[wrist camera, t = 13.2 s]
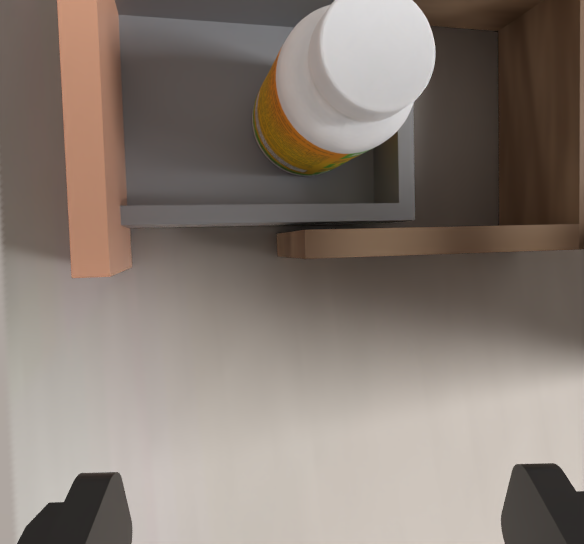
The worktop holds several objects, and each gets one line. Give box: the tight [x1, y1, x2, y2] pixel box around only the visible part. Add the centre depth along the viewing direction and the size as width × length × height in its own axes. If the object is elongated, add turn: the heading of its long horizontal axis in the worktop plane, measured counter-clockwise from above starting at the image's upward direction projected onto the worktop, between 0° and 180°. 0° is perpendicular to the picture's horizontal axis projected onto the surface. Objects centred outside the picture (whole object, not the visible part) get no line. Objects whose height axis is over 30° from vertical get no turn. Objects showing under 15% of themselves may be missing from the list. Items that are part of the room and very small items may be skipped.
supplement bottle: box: [252, 0, 435, 176], centre depth 20 cm, size 5×5×10 cm
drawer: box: [57, 0, 415, 278], centre depth 21 cm, size 14×14×8 cm
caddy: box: [277, 0, 584, 259], centre depth 25 cm, size 15×14×6 cm
